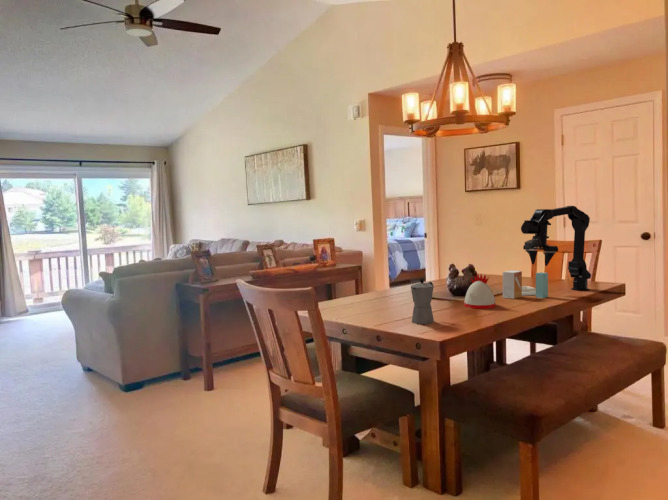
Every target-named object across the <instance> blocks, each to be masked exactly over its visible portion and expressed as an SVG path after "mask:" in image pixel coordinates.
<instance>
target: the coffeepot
mask: <svg viewBox="0 0 668 500" xmlns="http://www.w3.org/2000/svg"><path fill="white" fill-rule="evenodd" d="M424 279H425V278H423V277H422V278H419V282H418V283H414V284H412V285H410V291H411V296H412V302H413V304H414V305H413V311H412V317H411V322H412V323H413V324H415V325H430V324H433V323H434V321H435V320H434V315H433V310H432V309H433V308H432V306H431V305H432V303H431V302H432V301H433V300H432V299H433V292H434V288H435V286H434V283H433V282H432V281H429V282H424V281H425V280H424Z"/></svg>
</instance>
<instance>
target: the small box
mask: <svg viewBox="0 0 668 500" xmlns="http://www.w3.org/2000/svg"><path fill="white" fill-rule="evenodd" d="M522 284H523V270H522V271H521V270H511V269H510V270H506V271H503V272H502V298H504V299H512V300H513V299H517V298H522V297H523V296H522V286H523V285H522Z"/></svg>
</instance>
